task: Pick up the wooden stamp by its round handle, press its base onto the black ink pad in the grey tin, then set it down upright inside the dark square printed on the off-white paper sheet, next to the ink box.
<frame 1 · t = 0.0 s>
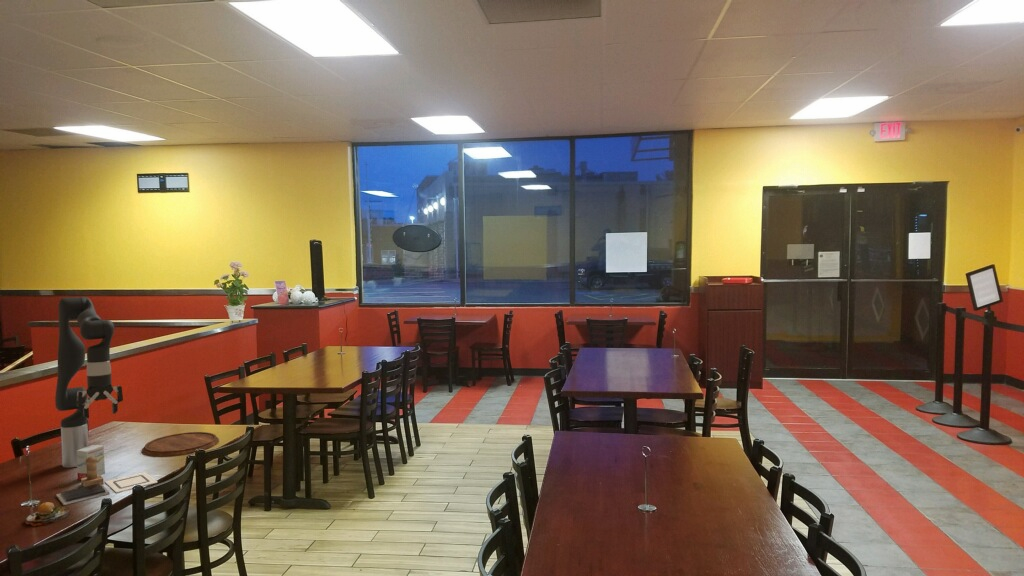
hand: (100, 415, 224), 29 cm above the table, tool pointing down, fingers open, 8 cm apart
cutting board: (181, 446, 281), on the table
ink box: (91, 476, 242), on the table
paper sheet: (131, 482, 235), on the table
stamp: (92, 484, 233), on the table
burger: (47, 519, 203), on the table
ink pad: (83, 495, 223), on the table
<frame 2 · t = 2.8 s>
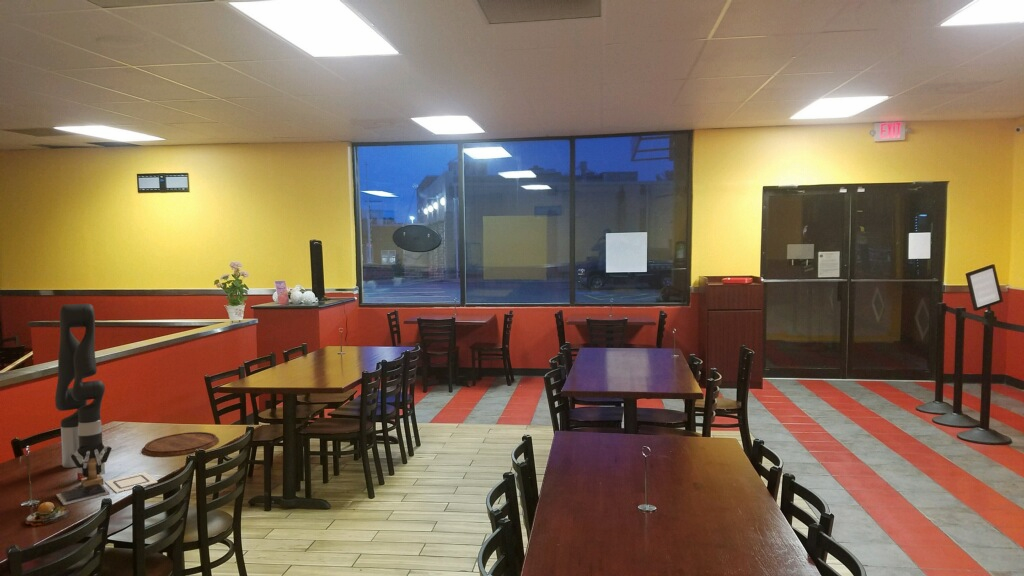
hand: (92, 475, 233), 4 cm above the table, tool pointing down, fingers closed on stamp, 3 cm apart
stamp: (92, 484, 233), on the table, touching gripper
everything else where it was.
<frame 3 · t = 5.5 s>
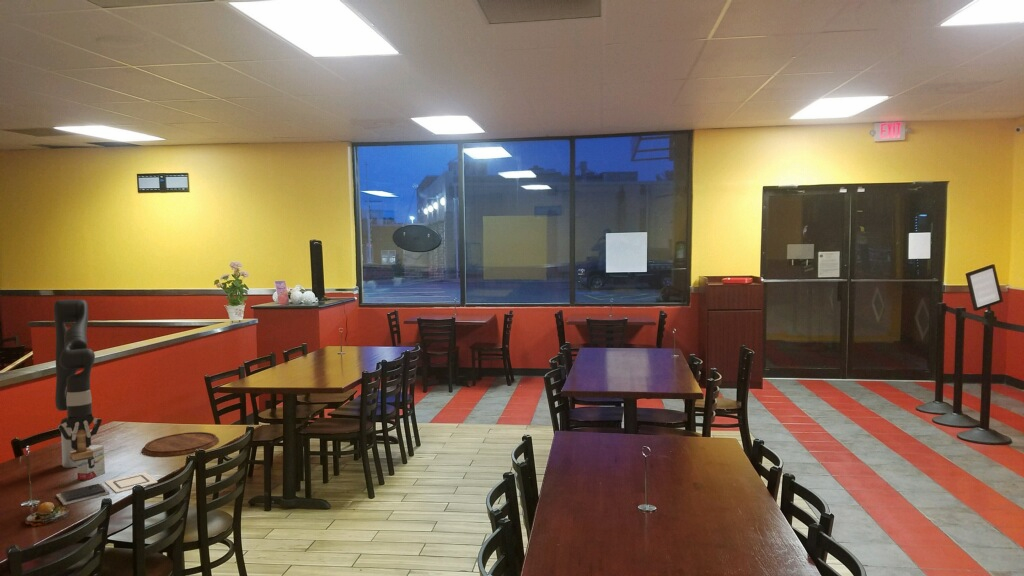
hand: (81, 448, 222), 18 cm above the table, tool pointing down, fingers closed on stamp, 3 cm apart
stamp: (81, 457, 222), point 14 cm above the table, touching gripper
everything else where it was.
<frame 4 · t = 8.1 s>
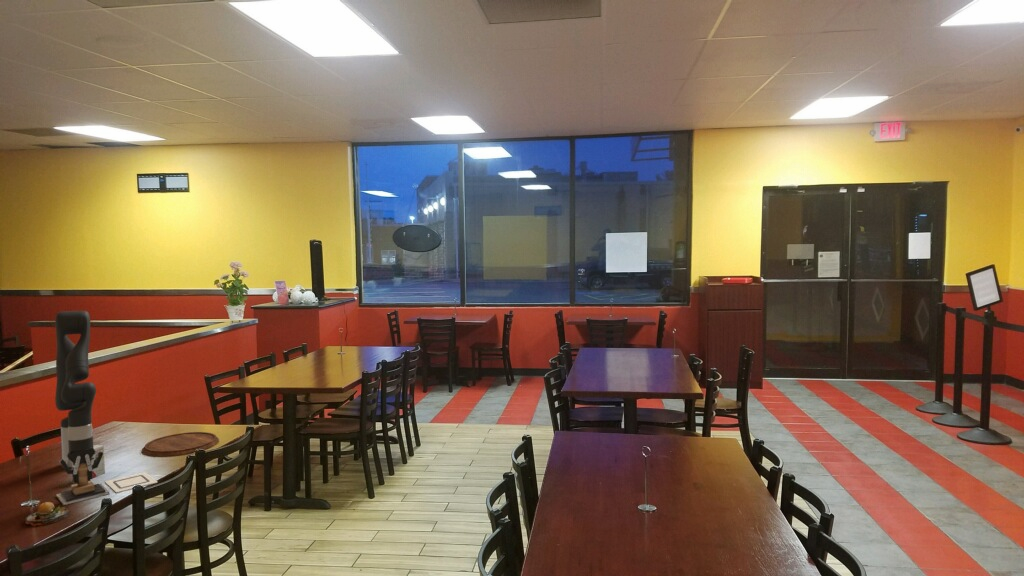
hand: (82, 481, 222), 5 cm above the table, tool pointing down, fingers closed on stamp, 3 cm apart
stamp: (83, 491, 222), point 1 cm above the table, touching gripper, ink pad
everything else where it was.
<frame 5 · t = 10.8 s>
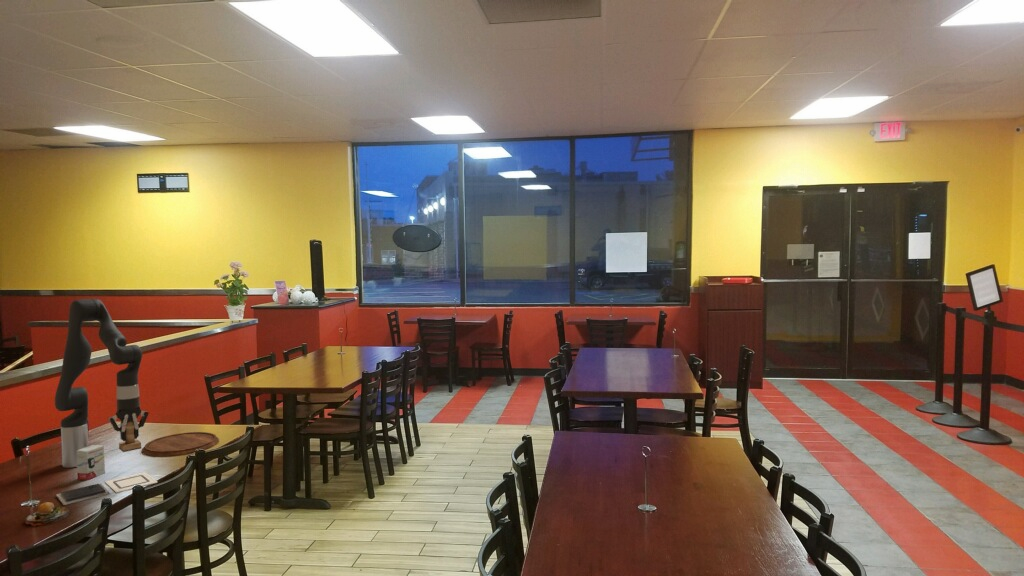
hand: (129, 439, 234), 17 cm above the table, tool pointing down, fingers closed on stamp, 3 cm apart
stamp: (130, 448, 234), point 14 cm above the table, touching gripper
everything else where it was.
when the fingers open (5 cm above the table, at t = 13.2 s): stamp stays where it is, resting on paper sheet.
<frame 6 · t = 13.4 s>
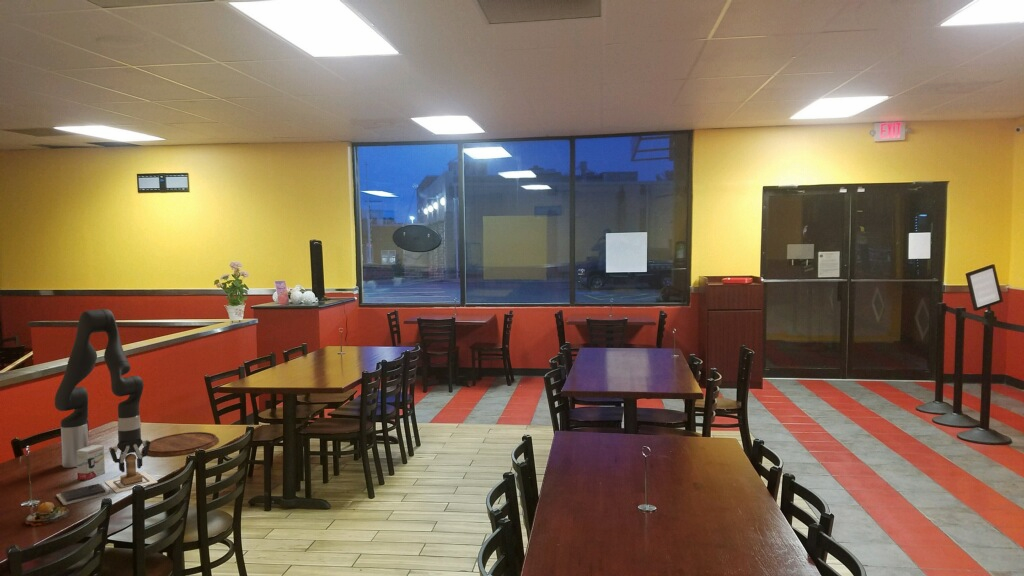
hand: (130, 469, 235), 5 cm above the table, tool pointing down, fingers open, 5 cm apart
stamp: (131, 481, 235), resting on paper sheet
everything else where it was.
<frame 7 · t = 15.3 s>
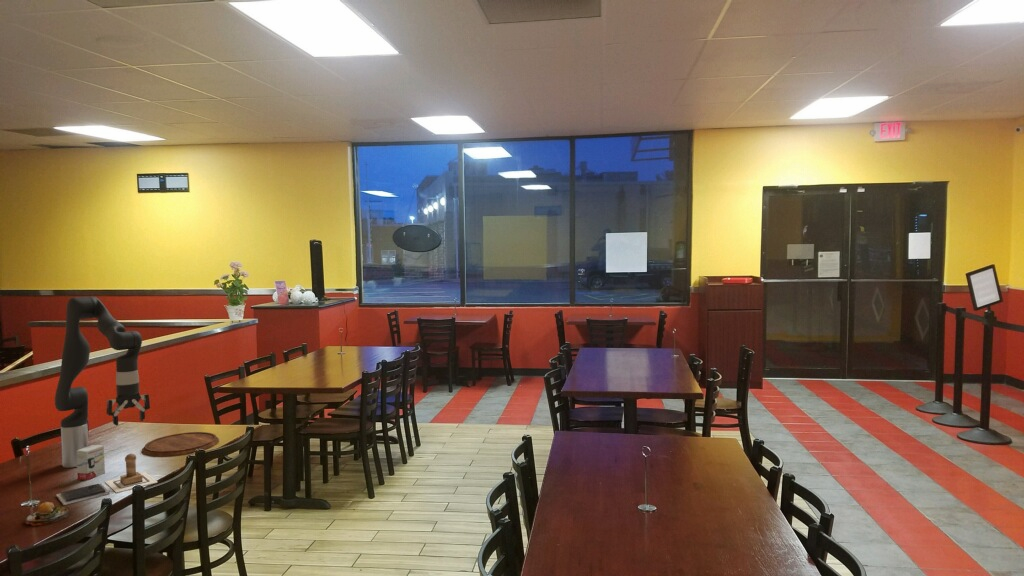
hand: (129, 422, 234), 24 cm above the table, tool pointing down, fingers open, 8 cm apart
nothing on the table moved.
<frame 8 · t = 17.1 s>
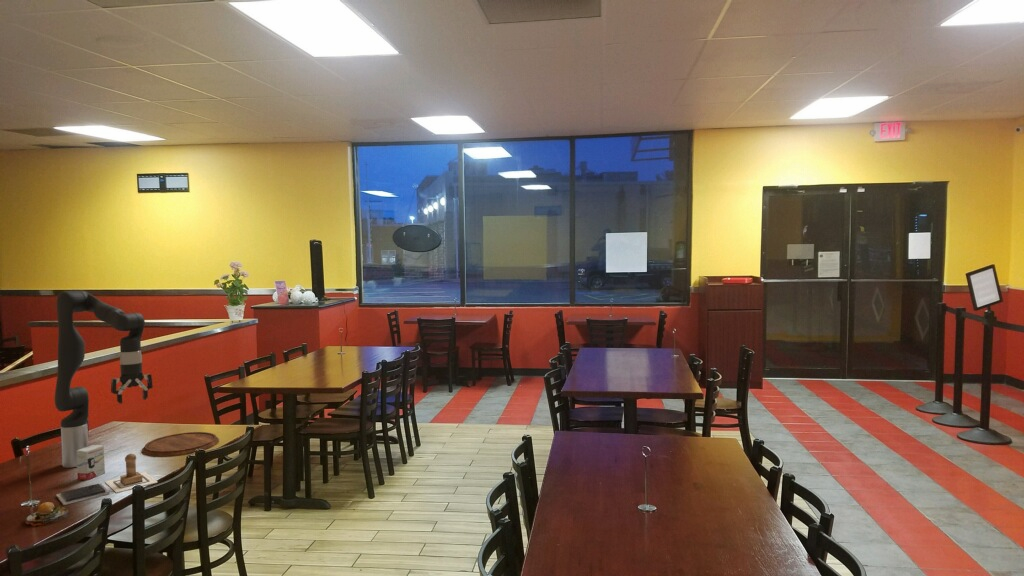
hand: (132, 401, 243), 30 cm above the table, tool pointing down, fingers open, 8 cm apart
nothing on the table moved.
at the end: stamp inside the target area on the paper sheet (0.1 cm from its centre), point 0.3 cm above the paper sheet's base; stamp tilted 0°; the gripper is holding nothing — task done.
